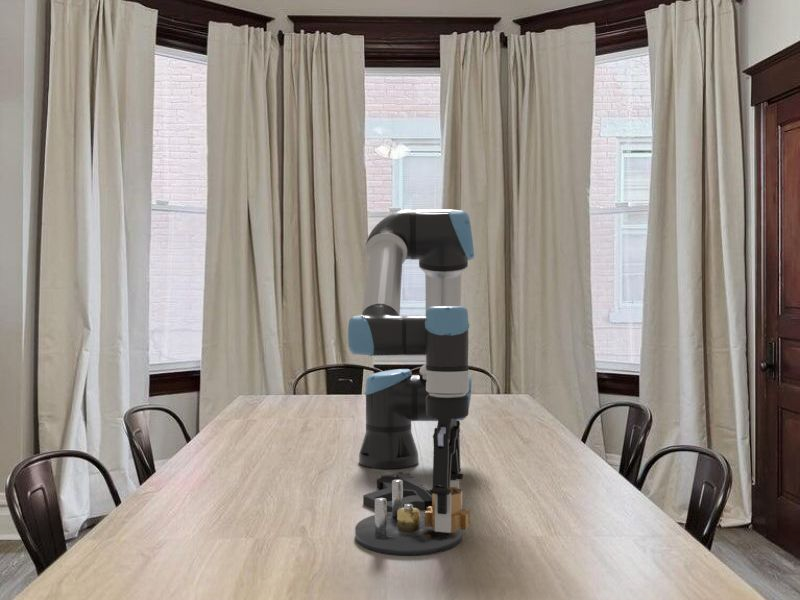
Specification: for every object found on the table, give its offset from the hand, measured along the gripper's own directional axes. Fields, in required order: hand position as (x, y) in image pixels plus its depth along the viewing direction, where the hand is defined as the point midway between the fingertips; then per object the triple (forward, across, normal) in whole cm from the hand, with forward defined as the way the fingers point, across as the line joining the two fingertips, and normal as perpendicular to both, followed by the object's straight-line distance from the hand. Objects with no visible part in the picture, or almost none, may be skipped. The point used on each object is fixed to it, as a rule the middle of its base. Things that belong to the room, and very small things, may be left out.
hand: (447, 523), depth 124 cm
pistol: (+3, -23, -16) cm, 28 cm away
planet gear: (0, 0, 0) cm, 0 cm away
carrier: (+3, 0, -7) cm, 8 cm away
